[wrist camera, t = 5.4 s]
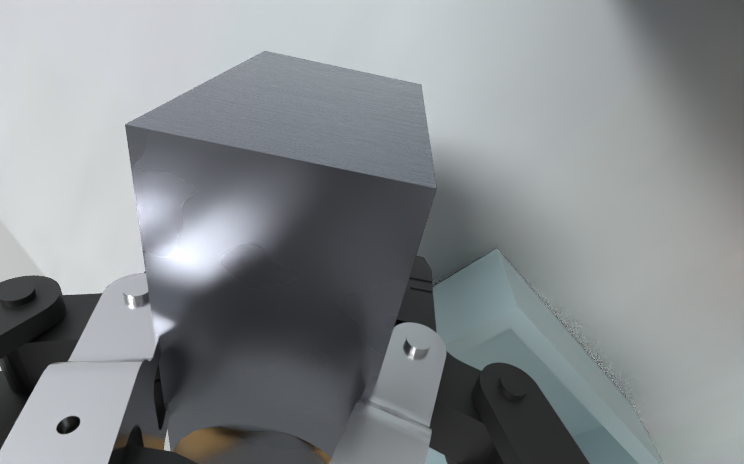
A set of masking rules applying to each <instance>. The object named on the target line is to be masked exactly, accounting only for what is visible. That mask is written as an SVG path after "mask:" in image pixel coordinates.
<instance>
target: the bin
mask: <svg viewBox="0 0 744 464" xmlns="http://www.w3.org/2000/svg"><path fill="white" fill-rule="evenodd" d="M433 297H434V309H435V320H436V331H437V334H438V335H439V336H440V337H441V339H442V340H443V342H444V344H445V346H446V351H447V352H448V353H450V354H451V355H452V356H453V357H455V358H456V359H458V360H460V361H462V362H464V363H466V364H468V365H470V366H472V367H474V368H477V369H479V370H481V371H482V370H483V368H484V367H485V366H487V365H489V364H491V363H497V362H501V363H507V364H511V365H513V366H516V367H517V368H519V369H521V370H523V371H524V372H526V373H527V374H528V375H529V376H530V377H531V378H532V379H533V380H534V381H535V382H536V384H537V385H538V386H539V388H540V389H541V391H542V392H543V394H544V395H545V397H546V398H547V400H548V401H549V403H550V404H551V406H552V407H553V409H554V410H555V412H556V413H557V415H558V416H559V418H560V419H561V421H562V422H563V424H564V425H565V427H566V428H567V430H568V431H569V433H570V434H571V436H572V437H573V439H574V440H575V442H576V443H577V445H578V446H579V448H580V449H581V451H582V452H583V454H584V456H585V457H586V459H587V460H588V462H589V463H590V464H664V463H663V461H662V459H661V457H660V456H659V454H658V452H657V450H656V448H655V446H654V444H653V443H652V441H651V439H650V437H649V435H648V433H647V432H646V430H645V428H644V426H643V424H642V422H641V420H640V419H639V417H638V415H637V413H636V411H635V409H634V408H633V406H632V404H631V403H630V402H629V401H628V400H627V399H626V398H625V396H624V395H623V394H622V393H621V392H620V391H619V389H618V388H617V387H616V386H615V385H614V384H613V382H612V381H611V380H610V379H609V378H608V377H607V375H606V374H605V373H604V372H603V371H602V370H601V368H600V367H599V366H598V365H597V364H596V363H595V362H594V360H593V359H592V358H591V357H590V356H589V355H588V353H587V352H586V351H585V350H584V349H583V348H582V346H581V345H580V344H579V343H578V342H577V341H576V339H575V338H574V337H573V336H572V335H571V334H570V332H569V331H568V330H567V329H566V328H565V327H564V326H563V324H562V323H561V322H560V321H559V320H558V319H557V317H556V316H555V315H554V314H553V313H552V312H551V310H550V309H549V308H548V307H547V306H546V305H545V303H544V302H543V301H542V300H541V299H540V298H539V296H538V295H537V294H536V293H535V292H534V291H533V290H532V288H531V287H530V286H529V285H528V284H527V283H526V281H525V280H524V279H523V278H522V277H521V276H520V274H519V273H518V272H517V271H516V270H515V269H514V267H513V266H512V265H511V264H510V263H509V262H508V260H507V259H506V258H505V257H504V256H503V255H502V254H501V252H500V251H499V250H498V249H497V248H496V249H495V250H493V251H491V252H490V253H488V254H486V255H485V256H483V257H481V258H480V259H478V260H477V261H475V262H473V263H472V264H470V265H468V266H467V267H465V268H463V269H462V270H460V271H458V272H457V273H455V274H454V275H452V276H450V277H449V278H447V279H445V280H444V281H442V282H440V283H439V284H437V285H435V286H434V287H433ZM425 464H447V462H446V459H445V455H443V454H441V453H439V452H437V451H435V450H434V449H432V448H430V447H429V448H428V452H427V457H426V461H425Z"/></svg>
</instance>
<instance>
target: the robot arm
mask: <svg viewBox="0 0 744 464" xmlns="http://www.w3.org/2000/svg"><path fill="white" fill-rule="evenodd" d="M160 357H161V346H160V339H159V336H155V335H154V328H153V320H152V313H151V306H150V299H149V292H148V284H147V277H146V271H145V272H144V273H139V274H133V275H128V276H125V277H122V278H120V279H118V280H116V281H114V282H113V283H111V284H110V285H109V286H108V287H107V288H106V289H105V290H104V292H103V293H100V294H81V295H62V292H61V288H60V286H59V284H58V283H57V282H56V281H55V280H53V279H51V278H48V277H44V276H23V277H17V278H12V279H9V280H6V281H3V282H1V283H0V367H1V369H2V371H0V464H198V463H196V462H194V461H192V460H190V459H188V458H186V457H184V456H182V455H180V454H178V453H176V452H171V451H165V450H164V443H165V437H166V432H167V428H168V424H169V419H170V412H169V405H168V403H164V399H163V392H162V385H161V378H160V371H159V360H160ZM429 447H430V448H432V449H434V450H435V451H437V452H439V453H441V454H443V455H445V459H446V462H447V464H590V463H589V462H588V460H587V459H586V457H585V456H584V454H583V452H582V451H581V449H580V448H579V446H578V445H577V443H576V442H575V440H574V439H573V437H572V436H571V434H570V433H569V431H568V430H567V428H566V427H565V425H564V424H563V422H562V421H561V419H560V418H559V416H558V415H557V413H556V412H555V410H554V409H553V407H552V406H551V404H550V403H549V401H548V400H547V398H546V397H545V395H544V394H543V392H542V391H541V389H540V388H539V386H538V385H537V384H536V382H535V381H534V380H533V379H532V378H531V377H530V376H529V375H528V374H527V373H526V372H524V371H523V370H521V369H519V368H517V367H516V366H513V365H511V364H507V363H501V362H497V363H491V364H489V365H487V366H485V367H484V368H483V370H482V371H481V370H479V369H477V368H474V367H472V366H470V365H468V364H466V363H464V362H462V361H460V360H458V359H456V358H455V357H453V356H452V355H451V354H450V353H448V352H447V351H446V346H445V344H444V342H443V340H442V339H441V337H440V336H439V335H438V334H437V331H436V320H435V309H434V297H433V286H432V275H431V268H430V267H429V265H428V264H427V262H426V261H425V259H424V258H423V257H419V256H416V257H415V261H414V264H413V267H412V270H411V274H410V277H409V280H408V283H407V286H406V290H405V293H404V296H403V299H402V303H401V306H400V309H399V312H398V316H397V319H396V322H395V325H394V329H393V332H392V335H391V338H390V342H389V345H388V348H387V351H386V355H385V358H384V361H383V364H382V368H381V371H380V374H379V376H375V375H371V376H370V378H369V381H368V383H367V385H366V388H365V390H364V392H363V394H362V397H361V398H360V397H359V398H358V400H357V402H356V404H355V406H354V408H353V411H352V413H351V415H350V418H349V420H348V422H347V424H346V427H345V429H344V431H343V434H342V436H341V438H340V440H339V443H338V445H337V447H336V450H335V452H334V454H333V456H332V459H331V461H330V463H329V464H425V461H426V457H427V452H428V448H429Z"/></svg>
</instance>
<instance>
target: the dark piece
mask: <svg viewBox="0 0 744 464" xmlns="http://www.w3.org/2000/svg"><path fill="white" fill-rule="evenodd" d="M125 127H126V134H127V141H128V148H129V155H130V163H131V170H132V177H133V184H134V191H135V198H136V206H137V213H138V220H139V227H140V234H141V241H142V249H143V256H144V263H145V270H146V277H147V284H148V292H149V299H150V306H151V313H152V320H153V328H154V335H155V336H159V339H160V346H161V357H160V360H159V371H160V378H161V385H162V392H163V399H164V403H168V405H169V412H170V419H169V424H168V435H169V442H170V449H171V452H176V453H178V454H180V455H182V456H184V457H186V458H188V459H190V460H192V461H194V462H196V463H198V464H329V463H330V461H331V459H332V456H333V454H334V452H335V450H336V447H337V445H338V443H339V440H340V438H341V436H342V434H343V431H344V429H345V427H346V424H347V422H348V420H349V418H350V415H351V413H352V411H353V408H354V406H355V404H356V402H357V400H358V398H359V397H360V398H361V397H362V394H363V392H364V390H365V388H366V385H367V383H368V381H369V378H370V376H371V375H375V376H379V374H380V371H381V368H382V364H383V361H384V358H385V355H386V351H387V348H388V345H389V342H390V338H391V335H392V332H393V329H394V325H395V322H396V319H397V316H398V312H399V309H400V306H401V303H402V299H403V296H404V293H405V290H406V286H407V283H408V280H409V277H410V274H411V270H412V267H413V264H414V261H415V257H416V254H417V251H418V248H419V244H420V241H421V238H422V235H423V231H424V228H425V225H426V222H427V218H428V215H429V212H430V209H431V205H432V202H433V199H434V196H435V192H436V189H437V187H436V180H435V173H434V167H433V160H432V153H431V147H430V140H429V133H428V127H427V120H426V113H425V106H424V100H423V93H422V86H421V85H420V84H416V83H411V82H406V81H402V80H397V79H393V78H388V77H383V76H379V75H374V74H369V73H365V72H360V71H356V70H351V69H346V68H342V67H337V66H332V65H328V64H323V63H319V62H314V61H309V60H305V59H300V58H295V57H291V56H286V55H282V54H277V53H272V52H268V51H264V52H262V53H260V54H258V55H256V56H254V57H252V58H251V59H249V60H247V61H245V62H243V63H241V64H239V65H237V66H235V67H233V68H232V69H230V70H228V71H226V72H224V73H222V74H220V75H218V76H216V77H214V78H213V79H211V80H209V81H207V82H205V83H203V84H201V85H199V86H197V87H195V88H194V89H192V90H190V91H188V92H186V93H184V94H182V95H180V96H178V97H176V98H175V99H173V100H171V101H169V102H167V103H165V104H163V105H161V106H159V107H157V108H156V109H154V110H152V111H150V112H148V113H146V114H144V115H142V116H140V117H138V118H136V119H135V120H133V121H131V122H129V123H127V124H125Z"/></svg>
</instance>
